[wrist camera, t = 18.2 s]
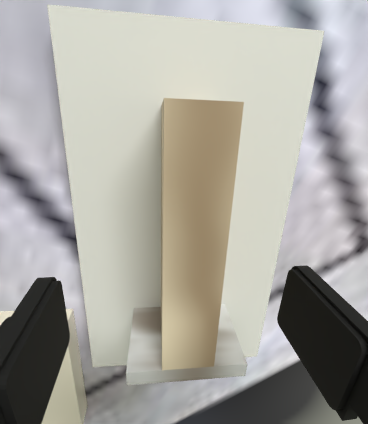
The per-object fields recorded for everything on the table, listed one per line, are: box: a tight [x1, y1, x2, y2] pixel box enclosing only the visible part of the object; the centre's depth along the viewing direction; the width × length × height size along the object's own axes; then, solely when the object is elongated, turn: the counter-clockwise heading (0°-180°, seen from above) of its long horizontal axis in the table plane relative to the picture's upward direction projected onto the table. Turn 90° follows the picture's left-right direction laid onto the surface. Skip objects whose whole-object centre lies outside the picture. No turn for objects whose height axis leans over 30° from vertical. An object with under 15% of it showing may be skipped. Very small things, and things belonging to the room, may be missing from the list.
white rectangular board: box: [47, 5, 324, 367], centre depth 17 cm, size 14×24×2 cm, turn 177°
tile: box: [0, 309, 87, 424], centre depth 20 cm, size 9×2×12 cm
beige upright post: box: [126, 98, 247, 385], centre depth 14 cm, size 7×15×5 cm, turn 178°
